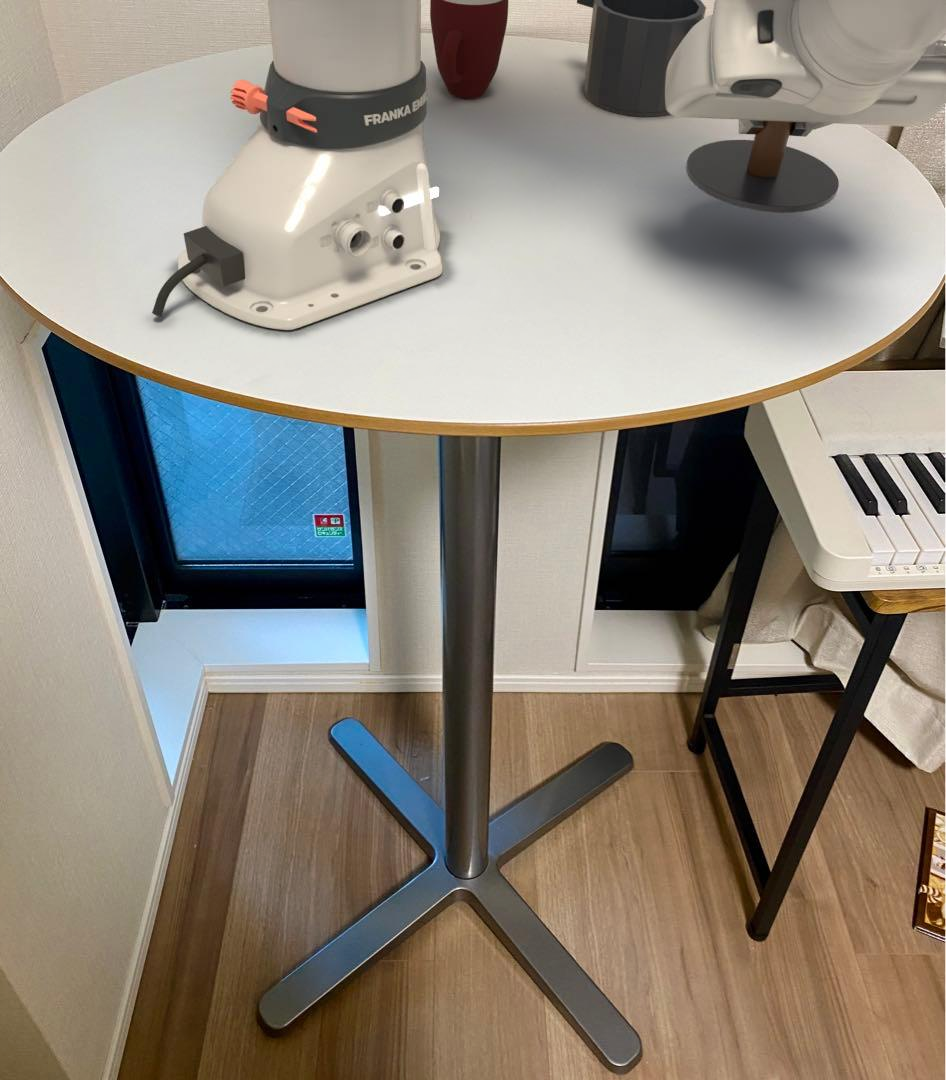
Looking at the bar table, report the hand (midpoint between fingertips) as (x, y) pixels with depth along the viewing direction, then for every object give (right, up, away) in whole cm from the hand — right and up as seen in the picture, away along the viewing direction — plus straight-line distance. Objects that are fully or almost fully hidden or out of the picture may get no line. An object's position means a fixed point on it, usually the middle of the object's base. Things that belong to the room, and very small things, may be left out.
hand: (771, 126), depth 80 cm
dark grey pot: (-6, +16, +30) cm, 34 cm away
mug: (-25, +15, +28) cm, 40 cm away
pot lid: (0, -3, +2) cm, 4 cm away
